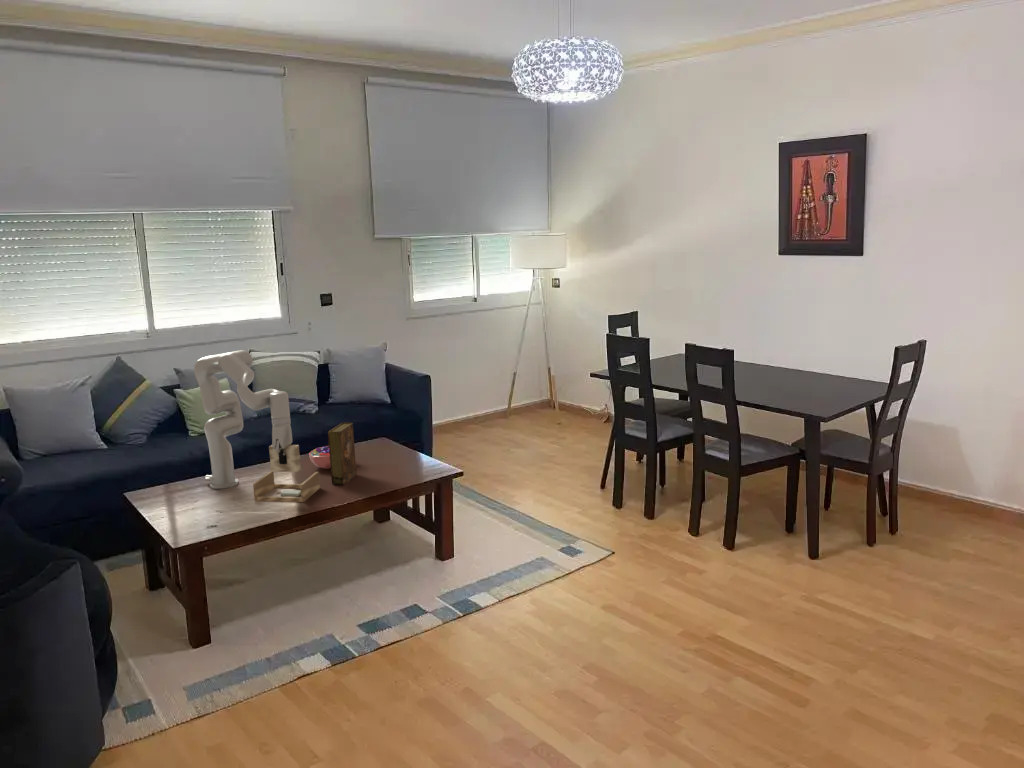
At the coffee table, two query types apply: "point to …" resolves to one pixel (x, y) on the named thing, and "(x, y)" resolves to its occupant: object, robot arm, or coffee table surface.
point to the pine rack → (268, 484)
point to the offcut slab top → (291, 493)
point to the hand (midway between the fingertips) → (285, 462)
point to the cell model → (321, 457)
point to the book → (342, 453)
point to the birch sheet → (292, 459)
